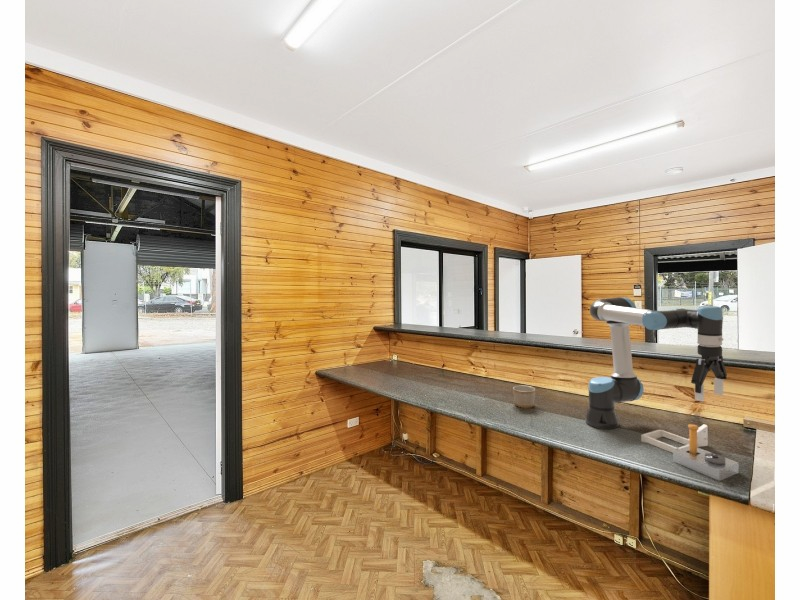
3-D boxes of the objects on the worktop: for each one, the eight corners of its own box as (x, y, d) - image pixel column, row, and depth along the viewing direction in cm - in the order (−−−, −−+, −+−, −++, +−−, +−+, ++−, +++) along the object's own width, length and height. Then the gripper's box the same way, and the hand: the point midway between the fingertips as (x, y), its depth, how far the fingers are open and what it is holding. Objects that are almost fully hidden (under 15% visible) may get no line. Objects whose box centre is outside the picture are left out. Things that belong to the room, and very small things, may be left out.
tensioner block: (672, 463, 149) (672, 445, 149) (691, 456, 154) (691, 439, 153) (719, 483, 134) (719, 463, 134) (738, 475, 139) (738, 455, 138)
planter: (513, 408, 218) (512, 391, 217) (513, 401, 230) (513, 384, 229) (535, 409, 214) (535, 392, 213) (535, 402, 226) (534, 385, 225)
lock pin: (686, 461, 149) (686, 425, 148) (691, 459, 150) (691, 423, 149) (695, 465, 146) (695, 428, 145) (700, 463, 147) (700, 426, 146)
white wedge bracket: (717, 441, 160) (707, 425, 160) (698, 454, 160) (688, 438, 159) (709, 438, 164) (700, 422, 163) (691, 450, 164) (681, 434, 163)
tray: (641, 442, 169) (641, 434, 168) (660, 436, 173) (660, 429, 173) (678, 457, 154) (678, 449, 153) (698, 450, 158) (698, 442, 158)
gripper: (702, 350, 137) (702, 406, 139) (738, 342, 147) (737, 394, 149) (680, 347, 144) (680, 400, 146) (716, 340, 154) (715, 389, 156)
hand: (709, 397), depth 147 cm, fingers open, 13 cm apart
